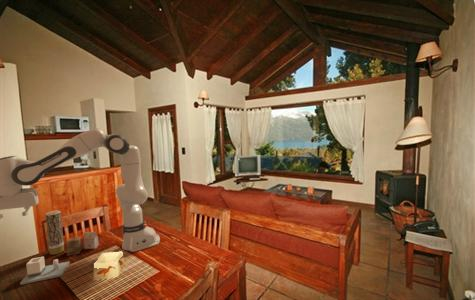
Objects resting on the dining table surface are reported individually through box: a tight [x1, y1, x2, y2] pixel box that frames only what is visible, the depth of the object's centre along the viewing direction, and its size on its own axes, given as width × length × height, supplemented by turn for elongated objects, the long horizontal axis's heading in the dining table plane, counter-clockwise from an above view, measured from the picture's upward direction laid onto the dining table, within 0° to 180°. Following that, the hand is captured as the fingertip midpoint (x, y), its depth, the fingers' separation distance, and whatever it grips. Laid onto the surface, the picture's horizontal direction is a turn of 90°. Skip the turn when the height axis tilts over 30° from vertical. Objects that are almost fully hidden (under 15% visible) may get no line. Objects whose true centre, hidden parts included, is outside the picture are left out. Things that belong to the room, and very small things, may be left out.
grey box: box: [82, 231, 99, 250], centre depth 133 cm, size 4×7×10 cm, turn 93°
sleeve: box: [26, 255, 46, 278], centre depth 107 cm, size 5×5×7 cm
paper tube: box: [45, 209, 65, 256], centre depth 127 cm, size 7×7×25 cm
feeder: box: [66, 236, 83, 256], centre depth 127 cm, size 6×5×8 cm
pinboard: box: [19, 258, 71, 286], centre depth 109 cm, size 16×11×6 cm
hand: (12, 216), depth 104 cm, fingers open, 8 cm apart
